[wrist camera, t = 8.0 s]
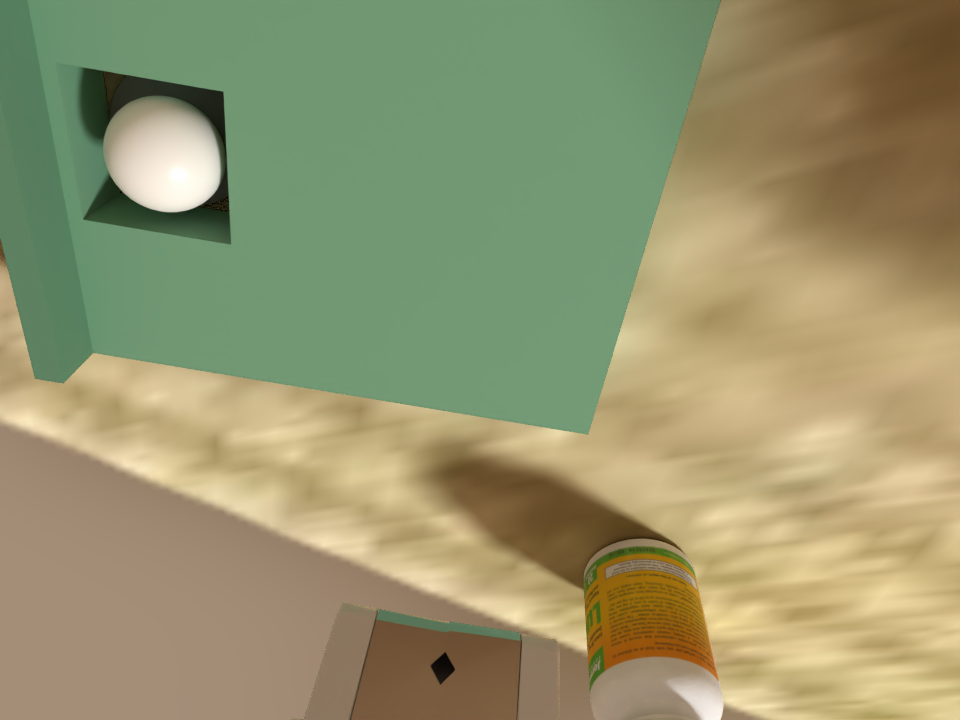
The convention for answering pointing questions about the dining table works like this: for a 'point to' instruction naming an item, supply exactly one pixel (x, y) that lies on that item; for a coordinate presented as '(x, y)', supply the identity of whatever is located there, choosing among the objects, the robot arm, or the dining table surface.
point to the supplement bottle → (648, 636)
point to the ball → (164, 153)
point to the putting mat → (351, 190)
